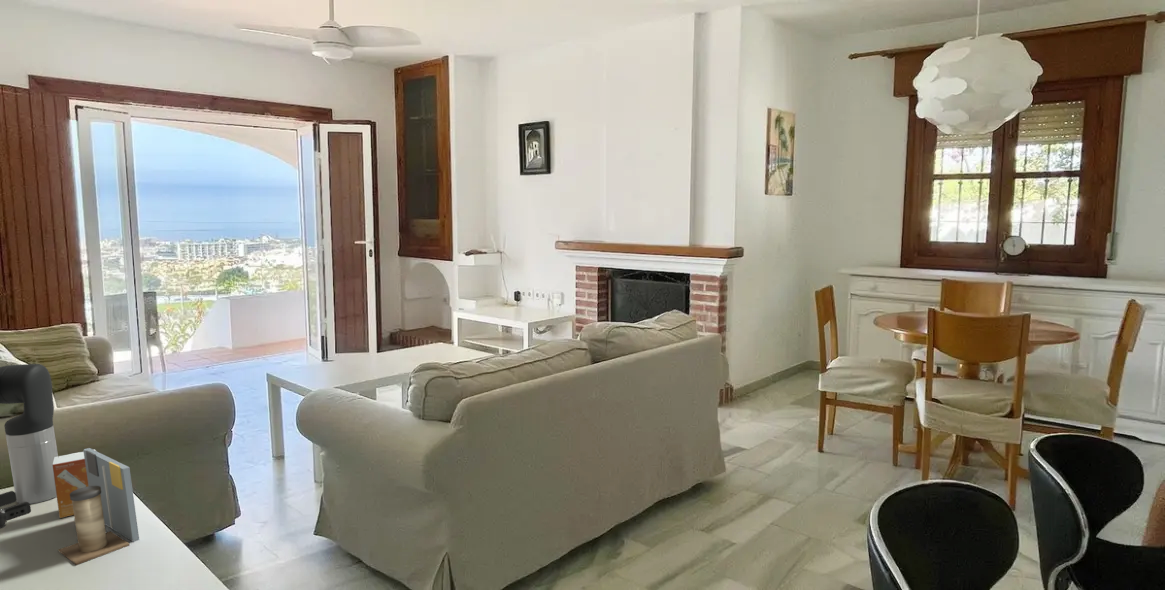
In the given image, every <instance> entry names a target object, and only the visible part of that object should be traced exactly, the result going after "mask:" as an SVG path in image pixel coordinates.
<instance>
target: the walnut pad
mask: <svg viewBox="0 0 1165 590" xmlns="http://www.w3.org/2000/svg"><path fill="white" fill-rule="evenodd" d="M106 537H107V545H106V546H105V547H103V548H101V549H98V550H96V551H92V552H80V551H79V545H78V542H75V543H73V544H71V545H67V546H65V547H62V548H58V549H57V550H58V553H60V554H61V555H63V557H64V558H67V559H68V560H69V562H72V563H73V564H74V565H75V566H78V565H80V564H83V563H86V562H89V561H91V559H92V560H94V559H96V558H99V557H102V556H105V555H108V554H110V553H112V552H115V551H117V550H121V549H124V548H126V547H128V546H130V543H129V542H128V541H126V540H125V539H123V538H122V537H120V536H119V535H117V534H116V533H114V531H113V532H112V531H110V530H108V531H106ZM123 547H124V548H123ZM88 560H89V561H88Z"/></svg>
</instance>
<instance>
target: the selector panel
mask: <svg viewBox="0 0 1165 590" xmlns="http://www.w3.org/2000/svg"><path fill="white" fill-rule="evenodd" d="M95 450H96V449H95ZM95 450H94V449H93V448H90V447H88V448H84V449H83V451H82V452H84V458H85V465H86V472H87V479H88V486H100V487H101V494H100V495H101V502H102V509H103V516H104V523H105V524H106V525H105V526H107V527H109V528H110V529H112V530H113V531H114V532H116V533H118V534H120V535H121V536H123V537H124V538H127V539H128V540H129V541H131V542H133V543H134V542H136V541H140V536H139V528H138V520H137V514H136V506H135V499H134V498H135V497H134V490H133V484H132V476H131V469H130V466H128V465H126V464H124V463H121V462H119V461H117V460H116V459H113V458H111V457H109V456H107V455H105V454H103V453H101V452H98V451H97V450H96V451H95Z"/></svg>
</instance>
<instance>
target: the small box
mask: <svg viewBox="0 0 1165 590" xmlns="http://www.w3.org/2000/svg"><path fill="white" fill-rule="evenodd" d="M93 450H95V451H97V450H96V449H93ZM53 474H54V481H55V488H56V502H57V508H58V509H57V510H58V515H59V516H58V517H59V519H62V518H66V517H70V516H74V511H73V504H72V500H71V499H70V493H71V492H73V491H75V490H77V489H80V488H83V487H88V479H87V472H86V465H85V458H84V451H78V452H74V453H69V454H64V455H58V457H54V461H53Z"/></svg>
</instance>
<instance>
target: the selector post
mask: <svg viewBox="0 0 1165 590" xmlns="http://www.w3.org/2000/svg"><path fill="white" fill-rule="evenodd" d="M100 494H101V487H100V486H88V487H83V488H80V489H77V490H75V491H73V492H71V493H70V499H71V500H72V504H73V511H74V515H73V516H74V517H73V518H74V524H75V530H76V531H75V532H76V537H77V538H76V539H77V543H78V545H79V551H80V552H92V551H96V550H98V549H101V548H103V547H105V546H106V545H107V537H106V533H107V530H106V525H105V523H104V516H103V509H102V502H101V495H100Z"/></svg>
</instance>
